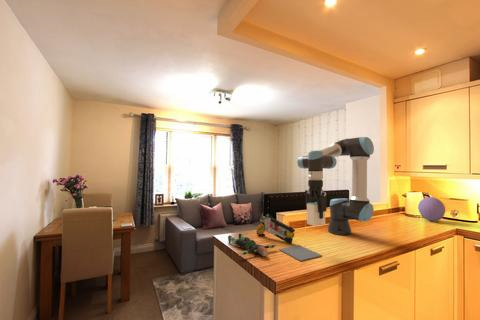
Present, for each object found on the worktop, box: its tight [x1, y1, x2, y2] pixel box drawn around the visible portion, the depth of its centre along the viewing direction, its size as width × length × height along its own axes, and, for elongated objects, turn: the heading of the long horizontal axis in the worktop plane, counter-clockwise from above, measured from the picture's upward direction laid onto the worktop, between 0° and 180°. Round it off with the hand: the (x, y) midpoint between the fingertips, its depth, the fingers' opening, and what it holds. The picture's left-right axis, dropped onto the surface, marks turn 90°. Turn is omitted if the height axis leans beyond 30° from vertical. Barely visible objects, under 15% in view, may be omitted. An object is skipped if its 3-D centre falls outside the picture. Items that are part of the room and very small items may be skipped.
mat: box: [278, 244, 323, 262], centre depth 119 cm, size 14×17×1 cm
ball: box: [417, 196, 446, 222], centre depth 188 cm, size 17×17×20 cm
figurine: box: [227, 232, 277, 257], centre depth 125 cm, size 26×6×30 cm
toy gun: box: [256, 214, 296, 245], centre depth 143 cm, size 4×26×15 cm, turn 46°
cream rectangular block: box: [306, 201, 326, 227], centre depth 121 cm, size 8×5×11 cm, turn 117°
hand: (315, 223), depth 121 cm, fingers closed on cream rectangular block, 5 cm apart
